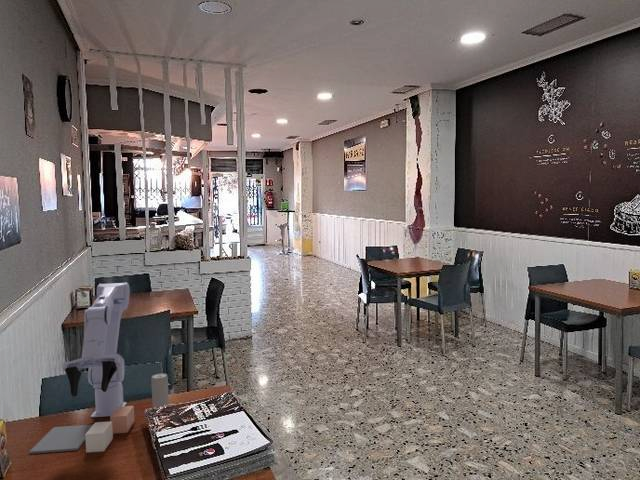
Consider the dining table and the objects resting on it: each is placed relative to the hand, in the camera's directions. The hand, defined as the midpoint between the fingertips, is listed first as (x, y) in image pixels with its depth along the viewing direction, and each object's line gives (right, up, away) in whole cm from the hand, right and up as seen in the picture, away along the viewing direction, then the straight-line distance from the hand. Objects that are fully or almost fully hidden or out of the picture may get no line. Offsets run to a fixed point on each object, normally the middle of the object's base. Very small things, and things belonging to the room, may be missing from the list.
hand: (88, 392), depth 123 cm
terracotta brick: (+4, -14, +12) cm, 19 cm away
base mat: (-9, -15, +5) cm, 18 cm away
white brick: (+2, -15, +1) cm, 15 cm away
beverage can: (+12, -13, +21) cm, 27 cm away
